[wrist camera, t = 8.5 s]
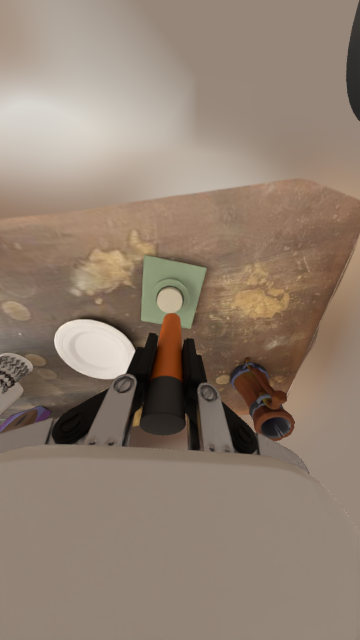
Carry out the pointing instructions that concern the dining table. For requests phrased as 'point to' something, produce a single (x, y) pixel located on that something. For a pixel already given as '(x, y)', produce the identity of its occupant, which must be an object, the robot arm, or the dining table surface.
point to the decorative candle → (12, 370)
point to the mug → (262, 401)
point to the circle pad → (169, 300)
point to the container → (10, 396)
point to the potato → (137, 417)
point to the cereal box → (25, 418)
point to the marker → (166, 383)
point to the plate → (94, 348)
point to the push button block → (170, 275)
